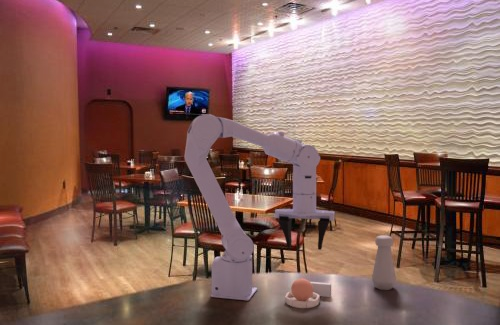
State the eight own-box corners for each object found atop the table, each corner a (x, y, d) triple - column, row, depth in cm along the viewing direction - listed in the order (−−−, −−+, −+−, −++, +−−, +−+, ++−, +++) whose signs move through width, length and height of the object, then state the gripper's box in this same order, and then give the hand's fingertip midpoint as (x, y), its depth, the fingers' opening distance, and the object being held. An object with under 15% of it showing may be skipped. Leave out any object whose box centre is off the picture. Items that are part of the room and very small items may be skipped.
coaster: (282, 306, 104) (282, 300, 104) (289, 294, 111) (289, 289, 111) (316, 309, 102) (316, 303, 102) (321, 297, 109) (321, 291, 109)
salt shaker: (396, 292, 113) (397, 239, 112) (372, 290, 114) (373, 238, 113) (394, 284, 118) (395, 234, 117) (371, 282, 119) (371, 233, 119)
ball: (289, 303, 105) (288, 281, 105) (293, 295, 110) (293, 275, 109) (311, 304, 104) (310, 282, 103) (314, 296, 108) (314, 275, 108)
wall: (297, 294, 112) (297, 281, 112) (298, 292, 113) (298, 280, 112) (330, 297, 109) (330, 284, 109) (331, 295, 110) (331, 283, 110)
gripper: (272, 194, 112) (272, 249, 113) (332, 196, 108) (332, 253, 109) (278, 190, 119) (278, 242, 120) (335, 192, 115) (335, 246, 116)
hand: (304, 247), depth 115 cm, fingers open, 7 cm apart
